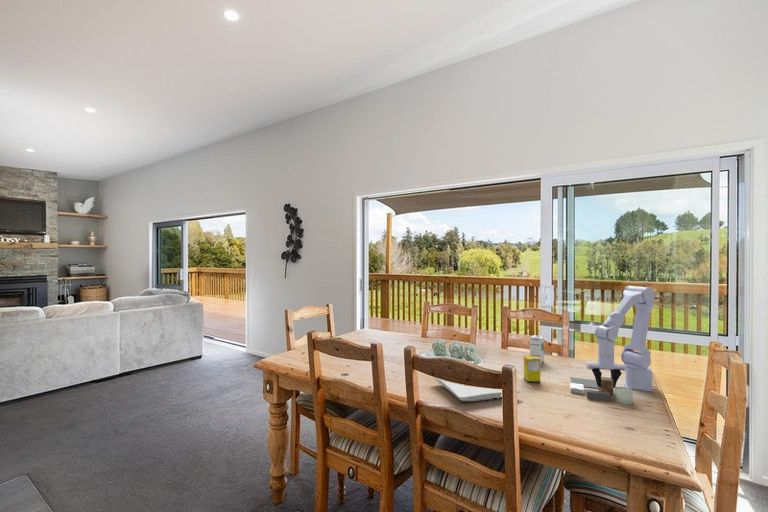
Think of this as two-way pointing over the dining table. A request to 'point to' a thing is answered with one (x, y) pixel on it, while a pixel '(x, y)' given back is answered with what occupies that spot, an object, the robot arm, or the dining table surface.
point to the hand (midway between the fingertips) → (606, 386)
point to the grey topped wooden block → (577, 388)
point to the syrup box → (537, 347)
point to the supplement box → (532, 369)
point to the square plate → (470, 392)
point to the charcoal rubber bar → (598, 395)
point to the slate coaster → (585, 382)
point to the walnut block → (607, 385)
